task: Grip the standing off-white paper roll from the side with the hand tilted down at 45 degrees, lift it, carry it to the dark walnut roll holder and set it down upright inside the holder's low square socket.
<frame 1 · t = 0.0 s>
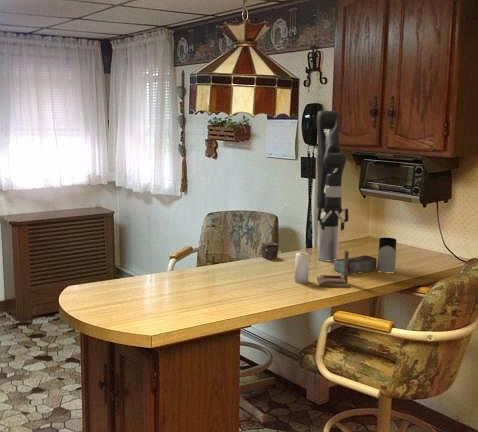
hand: (332, 230, 274), 17 cm above the table, tool pointing down, fingers open, 8 cm apart
paper roll: (301, 281, 249), on the table
beverage carton: (355, 272, 268), on the table
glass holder: (386, 270, 271), on the table
walnut holder: (332, 283, 247), on the table
box: (269, 258, 292), on the table
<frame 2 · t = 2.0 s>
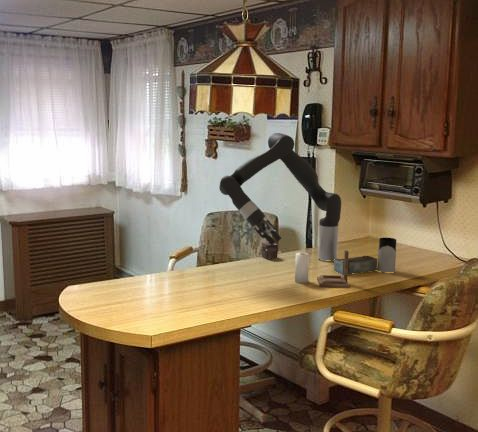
hand: (276, 241, 251), 16 cm above the table, tool tilted 45°, fingers open, 8 cm apart
nothing on the table moved.
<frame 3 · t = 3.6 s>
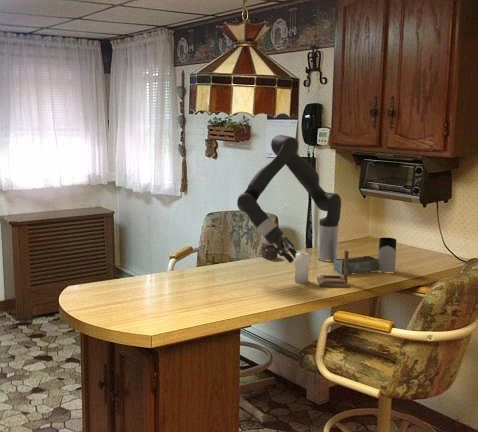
hand: (295, 259, 249), 9 cm above the table, tool tilted 45°, fingers open, 8 cm apart
nothing on the table moved.
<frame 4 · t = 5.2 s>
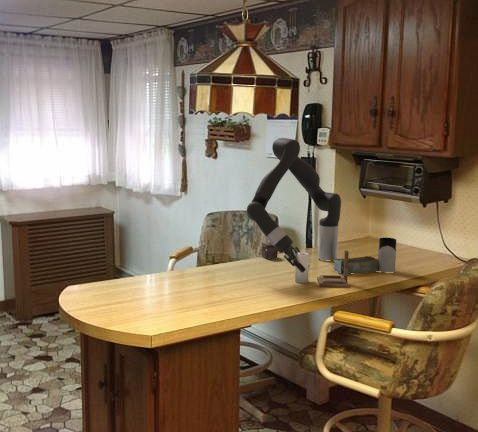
hand: (305, 269, 248), 5 cm above the table, tool tilted 45°, fingers closed on paper roll, 5 cm apart
paper roll: (301, 281, 249), on the table, touching gripper
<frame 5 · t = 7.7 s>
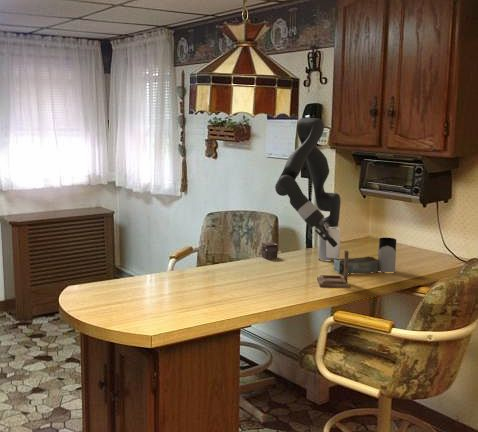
hand: (337, 244, 244), 17 cm above the table, tool tilted 45°, fingers closed on paper roll, 5 cm apart
paper roll: (332, 256, 245), point 12 cm above the table, touching gripper
when the fingers open (9 cm above the table, at t = 10.3 s): paper roll drops 2 cm, resting on walnut holder.
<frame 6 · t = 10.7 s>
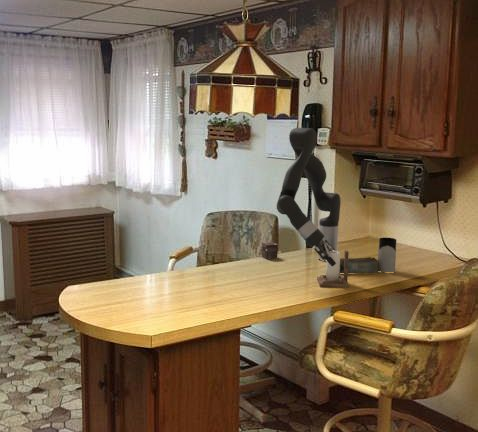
hand: (336, 262, 245), 9 cm above the table, tool tilted 45°, fingers open, 8 cm apart
paper roll: (332, 280, 247), point 1 cm above the table, touching walnut holder
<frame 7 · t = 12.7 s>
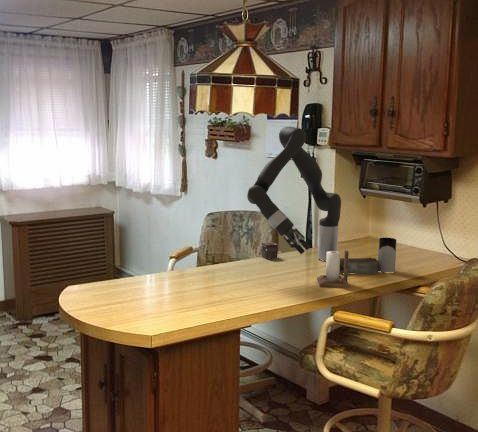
hand: (305, 250, 251), 13 cm above the table, tool tilted 45°, fingers open, 8 cm apart
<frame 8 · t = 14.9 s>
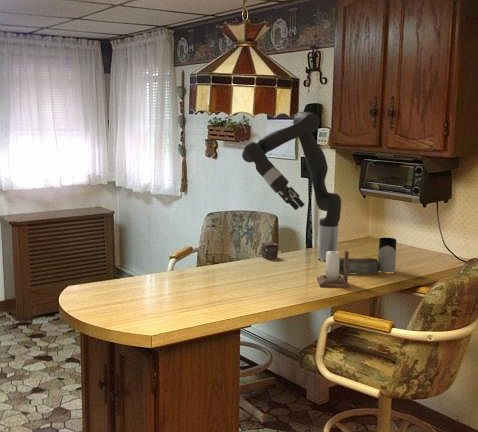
hand: (300, 207, 253), 31 cm above the table, tool tilted 45°, fingers open, 8 cm apart
at the end: paper roll 0.1 cm off-centre on the walnut holder, point 1.3 cm above the walnut holder's base; paper roll tilted 2°; the gripper is holding nothing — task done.
